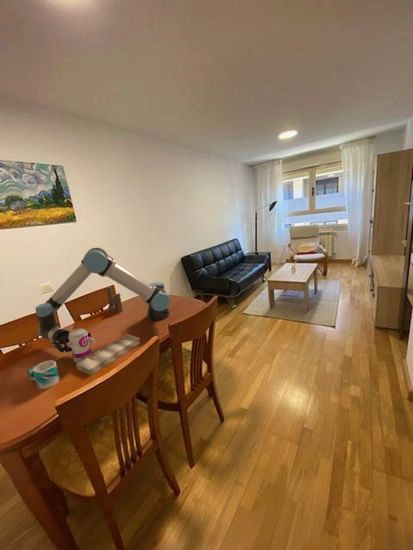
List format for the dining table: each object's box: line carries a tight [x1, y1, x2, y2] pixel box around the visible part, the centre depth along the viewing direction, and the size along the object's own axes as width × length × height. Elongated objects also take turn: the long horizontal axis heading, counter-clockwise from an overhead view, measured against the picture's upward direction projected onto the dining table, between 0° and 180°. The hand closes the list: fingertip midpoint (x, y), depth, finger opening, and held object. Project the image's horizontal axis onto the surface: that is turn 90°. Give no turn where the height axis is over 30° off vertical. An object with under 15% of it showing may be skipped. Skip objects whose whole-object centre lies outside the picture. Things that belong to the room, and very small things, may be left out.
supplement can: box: [68, 327, 93, 364], centre depth 118 cm, size 8×8×15 cm
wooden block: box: [105, 286, 124, 314], centre depth 175 cm, size 4×11×18 cm, turn 62°
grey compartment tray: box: [75, 334, 141, 376], centre depth 122 cm, size 30×10×3 cm, turn 149°
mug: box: [26, 359, 61, 390], centre depth 104 cm, size 8×12×8 cm
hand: (85, 345), depth 115 cm, fingers closed on supplement can, 8 cm apart
